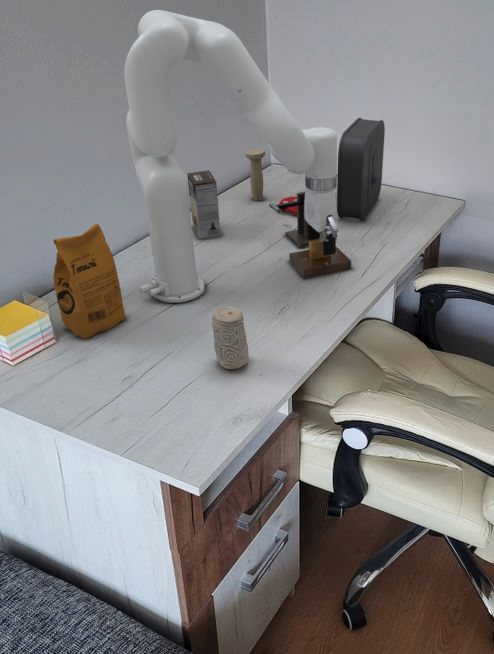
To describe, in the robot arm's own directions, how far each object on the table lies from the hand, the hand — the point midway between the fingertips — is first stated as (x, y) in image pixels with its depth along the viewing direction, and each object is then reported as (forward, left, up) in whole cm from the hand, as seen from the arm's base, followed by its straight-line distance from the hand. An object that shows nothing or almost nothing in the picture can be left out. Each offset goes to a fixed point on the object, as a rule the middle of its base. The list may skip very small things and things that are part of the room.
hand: (321, 246), depth 169 cm
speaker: (+35, +18, -6) cm, 39 cm away
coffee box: (-9, +37, -6) cm, 39 cm away
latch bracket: (+9, +14, -5) cm, 17 cm away
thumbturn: (0, 0, -3) cm, 3 cm away
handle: (+17, +46, -6) cm, 49 cm away
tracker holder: (+21, +31, -6) cm, 38 cm away
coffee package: (-56, +14, -6) cm, 58 cm away
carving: (-43, -19, -6) cm, 48 cm away
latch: (+4, +15, +4) cm, 17 cm away
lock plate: (0, 0, -5) cm, 5 cm away
